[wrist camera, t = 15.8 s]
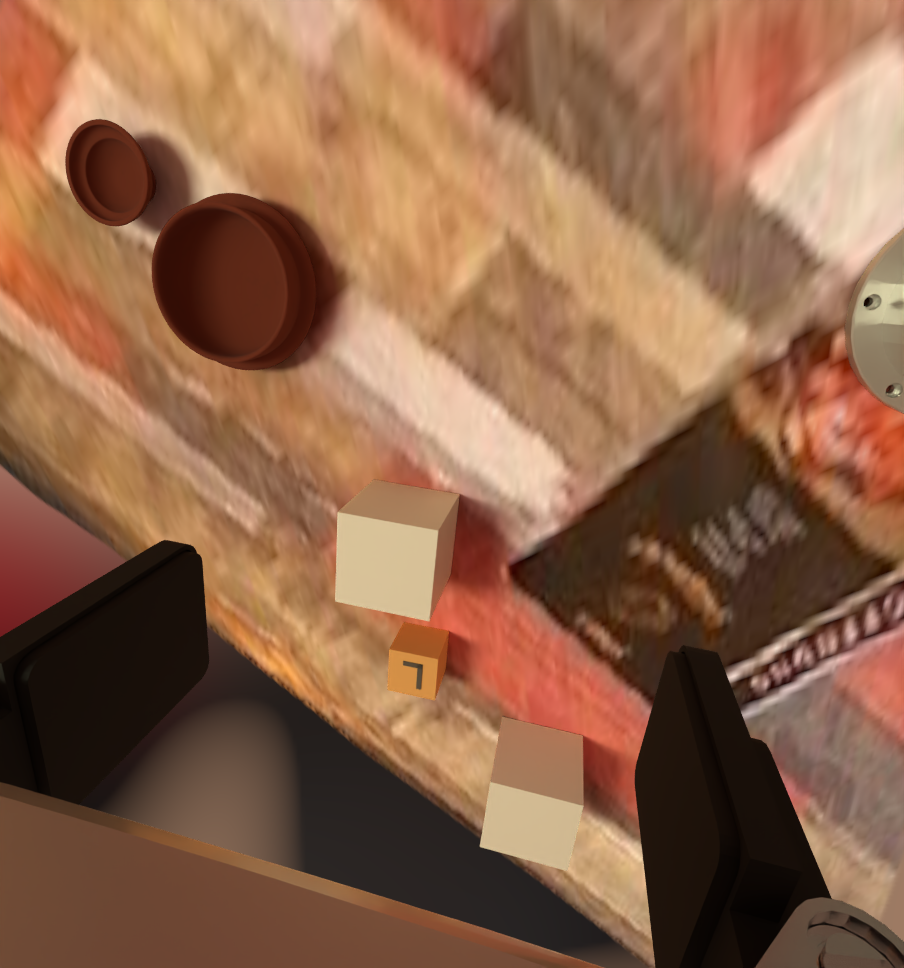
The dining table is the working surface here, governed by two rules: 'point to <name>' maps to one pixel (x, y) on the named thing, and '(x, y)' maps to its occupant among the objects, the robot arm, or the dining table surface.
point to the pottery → (204, 255)
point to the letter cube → (418, 660)
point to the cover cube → (395, 548)
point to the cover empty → (535, 793)
